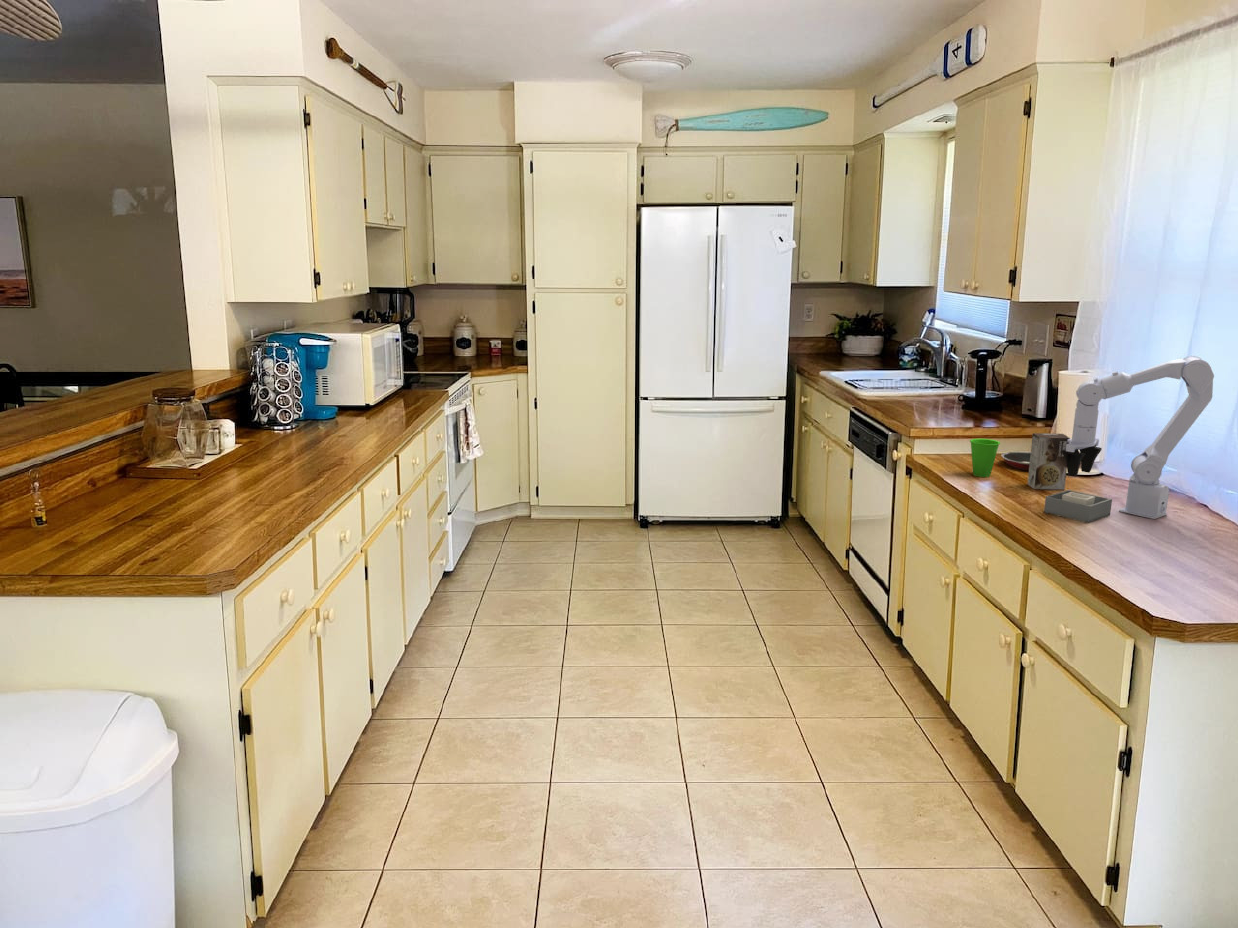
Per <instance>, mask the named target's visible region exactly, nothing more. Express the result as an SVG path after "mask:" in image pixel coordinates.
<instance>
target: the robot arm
mask: <svg viewBox="0 0 1238 928" xmlns="http://www.w3.org/2000/svg"><path fill="white" fill-rule="evenodd" d="M1165 378H1171V379H1176V380H1183V381H1184V384H1185V387H1186V390H1187V393H1188V395H1187V397H1186V399H1185V400H1184V401H1183V402H1182V403H1181V405H1180V406H1179V407H1178V409H1177V410H1176V412H1175V413H1174V414H1173V416H1172V417H1171V418H1170V419H1169V421H1168V422H1167V423H1166V425H1165V427H1164V428H1163V429H1162V430H1161V432H1160V433H1159V434H1158V435H1157V436H1156V438H1155V439H1154V441H1153V442H1152V443H1151V444H1150V445H1149V446H1147V447H1146V448H1145V449H1144V451H1142V452H1141V454H1139V455H1137V456H1135V457H1134V458H1133V459H1132V460H1131V463H1130V468H1131V471H1132V472H1133V474H1132V475H1131V476H1130V477H1129V480H1128V487H1127V494H1126V501H1125V507H1122V508H1121V509H1120V508H1119V509H1118V511H1119V512H1120V513H1125V514H1130V515H1133V516H1139V517H1143V518H1148V519H1153V520H1155V519H1158V518H1161V517H1164V516H1167V514H1168V513H1167V508H1168V502H1169V496H1170V490H1169V487H1168V485H1165V484H1162V483H1160V482H1161V481H1160V478H1161V477H1162V472H1163V468H1164V467H1165V465H1166V464H1167V462H1168V459H1169V456H1170V454H1171V453H1172V452H1173V451H1174V449H1175V448H1176V447H1177V445H1178V444H1179V443H1180V441H1181V440H1182V439H1183V437H1184V436H1185V435H1186V434H1187V432H1188V431H1189V429H1190V428H1191V427H1192V425H1194V423H1195V422H1196V421H1197V419H1198V418H1199V416H1200V415H1201V414H1202V413H1203V411H1205V409H1206V408H1207V407H1208V405H1209V404H1210V402H1211V401H1212V398H1213V391H1214V389H1213V388H1214V386H1213V385H1214V378H1215V374H1214V372H1213V369H1212V367H1211V365H1210V364H1209V363H1208V362H1207V361H1205V360H1203V359H1202V358H1201V357H1198V356H1196V355H1189V356H1186V357H1184V358H1177V359H1171V360H1169V361H1166V362H1162V363H1159V364H1156V365H1154V366H1151V367H1148V368H1145V369H1141V370H1139V371H1136V372H1134V373H1131V374H1129V373H1126V372H1123V371H1121V372H1118V371H1116V370H1115V371H1113V372H1112V375H1108V376H1105V377H1102V378H1099V379H1098V378H1097V377H1096V378H1094V379H1093V381H1086V382H1082V383H1081V384H1080V385H1079V386H1078V387H1077V390H1076V392H1075V393H1076V397H1077V401H1076V404H1075V406H1076V408H1075V410H1074V419H1073V426H1072V427H1073V429H1072V436H1071V438H1070V439H1068V441H1067V442H1070V443H1069V444H1067V445H1066V449H1064V450H1062V454H1063V455H1064V458H1065V460H1066V464H1067V471H1066V472H1067V475H1068V476H1069V477H1075V478H1077V477H1078V474H1079V470H1081V472H1083V473H1089V474H1090V473H1091V471H1092V468H1093V465H1094V464H1095V461H1096V459H1097V457H1098V456H1099V454H1100V453H1101V452H1102V450H1103V449H1102V447H1099V443H1100V442H1099V441H1100V439H1099V438H1096V433H1097V426H1098V417H1099V403H1100V402H1101V401H1102V400H1108V399H1111V398H1115V397H1117V396H1121V395H1124V394H1127V393H1130V392H1131V391H1132V389H1133V387H1136V386H1139V385H1141V384H1145V383H1146V384H1147V383H1150V382H1153V381H1157V380H1161V379H1165Z"/></svg>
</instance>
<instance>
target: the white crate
mask: <svg viewBox="0 0 1238 928" xmlns="http://www.w3.org/2000/svg"><path fill="white" fill-rule="evenodd" d="M1062 500H1066V501H1070V502H1075V503H1079V504H1084V505H1088V506H1090V505H1093V504H1094V501H1095V497H1094V496H1089V495H1084V494H1080V493H1075V492H1069V493H1066V494H1063V495H1062Z"/></svg>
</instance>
